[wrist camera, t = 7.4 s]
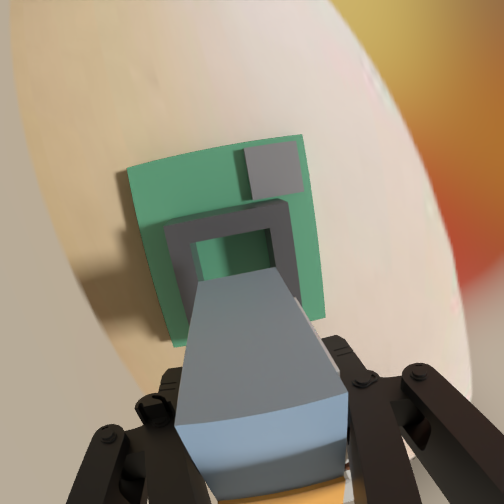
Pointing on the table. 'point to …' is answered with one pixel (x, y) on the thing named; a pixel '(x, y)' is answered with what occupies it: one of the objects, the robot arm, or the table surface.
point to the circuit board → (228, 222)
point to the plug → (261, 396)
